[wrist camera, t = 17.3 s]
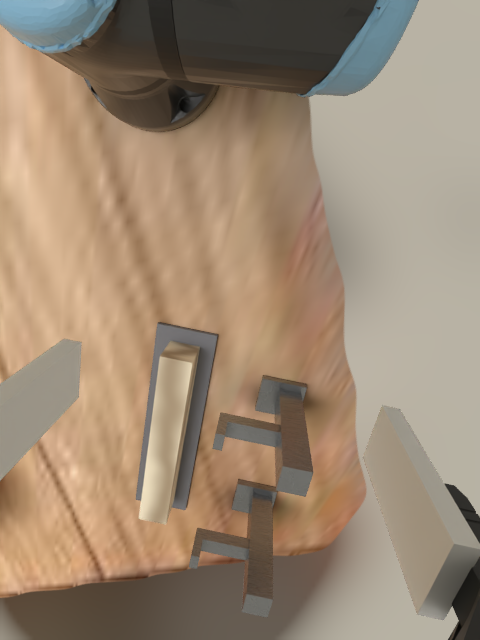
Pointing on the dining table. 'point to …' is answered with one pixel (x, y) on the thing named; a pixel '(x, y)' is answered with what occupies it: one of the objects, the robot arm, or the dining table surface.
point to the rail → (168, 429)
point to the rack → (262, 486)
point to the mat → (197, 404)
